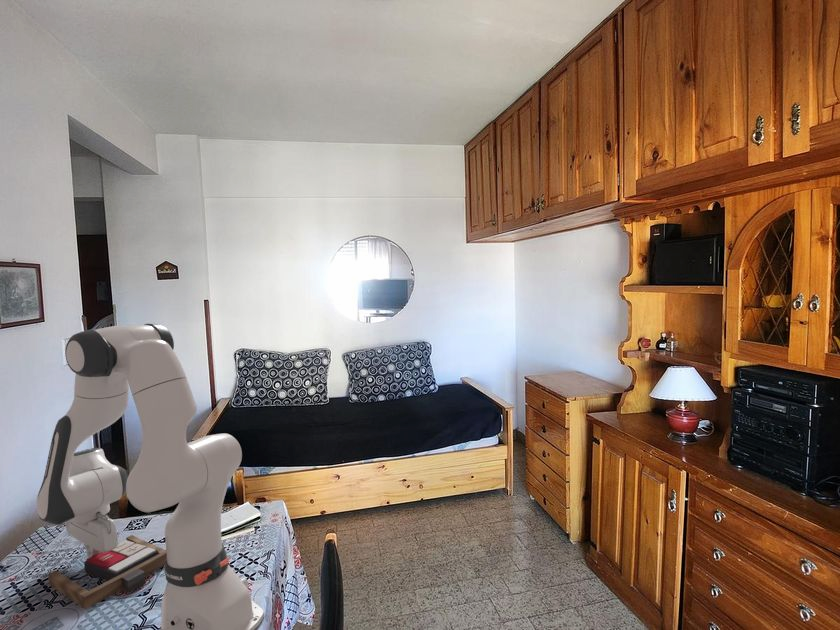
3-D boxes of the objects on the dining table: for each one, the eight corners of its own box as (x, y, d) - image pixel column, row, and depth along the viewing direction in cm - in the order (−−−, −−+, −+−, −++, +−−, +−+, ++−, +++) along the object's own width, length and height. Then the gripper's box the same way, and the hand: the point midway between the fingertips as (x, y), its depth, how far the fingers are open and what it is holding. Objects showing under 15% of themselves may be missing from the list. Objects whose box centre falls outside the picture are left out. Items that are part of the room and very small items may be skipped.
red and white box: (126, 537, 129) (158, 547, 122) (127, 552, 129) (160, 563, 122) (82, 558, 119) (115, 570, 112) (84, 574, 119) (117, 587, 112)
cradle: (176, 565, 121) (175, 554, 121) (92, 613, 104) (90, 601, 103) (132, 544, 132) (131, 534, 131) (49, 585, 114) (48, 573, 114)
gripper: (123, 511, 119) (126, 562, 120) (84, 495, 130) (88, 542, 130) (96, 523, 114) (100, 575, 115) (58, 505, 124) (62, 553, 125)
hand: (93, 557), depth 123 cm, fingers closed
